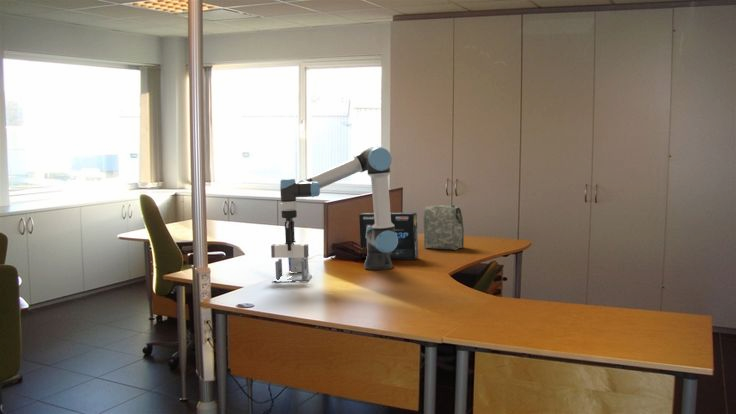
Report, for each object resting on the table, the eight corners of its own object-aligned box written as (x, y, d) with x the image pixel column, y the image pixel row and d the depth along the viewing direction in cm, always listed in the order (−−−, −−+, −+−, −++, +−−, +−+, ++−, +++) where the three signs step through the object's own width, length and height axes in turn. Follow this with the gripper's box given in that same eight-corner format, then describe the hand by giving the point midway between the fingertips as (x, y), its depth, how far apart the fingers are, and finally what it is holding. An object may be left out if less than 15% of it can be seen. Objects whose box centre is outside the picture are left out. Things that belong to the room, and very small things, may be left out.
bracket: (311, 276, 349) (310, 257, 349) (308, 281, 338) (307, 261, 337) (276, 277, 351) (275, 258, 350) (272, 282, 339) (271, 262, 338)
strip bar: (308, 256, 344) (308, 244, 344) (307, 257, 340) (307, 245, 340) (273, 256, 346) (272, 244, 345) (271, 257, 342) (271, 245, 341)
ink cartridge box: (306, 270, 368) (304, 243, 367) (309, 272, 363) (308, 245, 362) (288, 272, 365) (287, 245, 363) (291, 274, 360) (290, 246, 358)
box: (360, 258, 400) (358, 213, 398) (365, 256, 407) (363, 212, 405) (414, 260, 388) (413, 213, 385) (419, 258, 395) (417, 212, 392)
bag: (465, 247, 430) (464, 203, 427) (454, 250, 416) (453, 206, 414) (433, 245, 442) (432, 203, 439) (422, 249, 428) (420, 205, 426)
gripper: (284, 208, 350) (286, 253, 352) (278, 211, 333) (280, 259, 335) (299, 208, 349) (301, 253, 351) (293, 211, 332) (295, 258, 334)
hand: (290, 256), depth 343 cm, fingers closed on strip bar, 4 cm apart
